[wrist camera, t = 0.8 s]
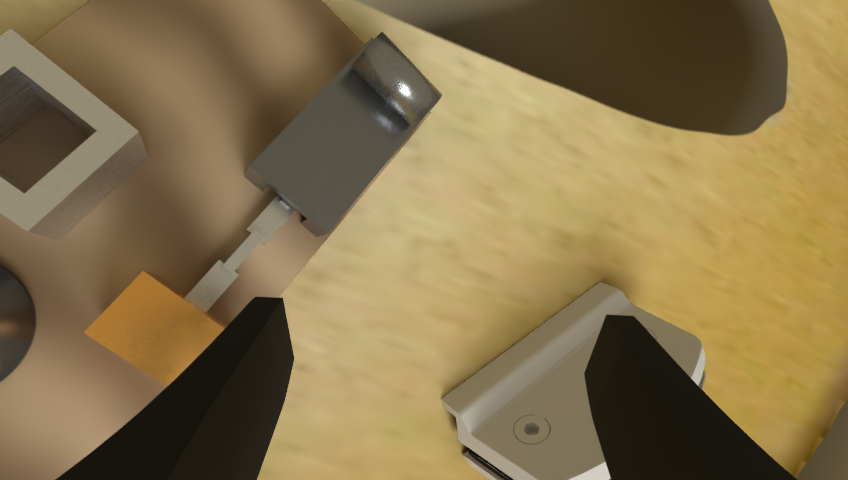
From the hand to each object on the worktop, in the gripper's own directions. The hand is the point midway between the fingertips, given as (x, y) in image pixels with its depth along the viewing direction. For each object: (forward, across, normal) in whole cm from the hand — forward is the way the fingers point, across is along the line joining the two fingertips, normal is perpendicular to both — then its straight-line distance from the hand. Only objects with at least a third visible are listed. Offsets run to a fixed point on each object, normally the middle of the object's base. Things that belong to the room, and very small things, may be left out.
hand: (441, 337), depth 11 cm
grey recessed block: (+12, +18, +2) cm, 21 cm away
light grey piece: (+14, -9, +20) cm, 26 cm away
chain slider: (+14, +8, +6) cm, 17 cm away
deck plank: (+12, +14, +5) cm, 20 cm away
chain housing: (+18, +6, +4) cm, 19 cm away
